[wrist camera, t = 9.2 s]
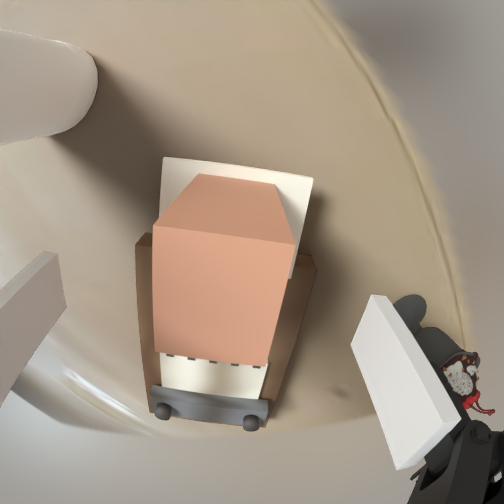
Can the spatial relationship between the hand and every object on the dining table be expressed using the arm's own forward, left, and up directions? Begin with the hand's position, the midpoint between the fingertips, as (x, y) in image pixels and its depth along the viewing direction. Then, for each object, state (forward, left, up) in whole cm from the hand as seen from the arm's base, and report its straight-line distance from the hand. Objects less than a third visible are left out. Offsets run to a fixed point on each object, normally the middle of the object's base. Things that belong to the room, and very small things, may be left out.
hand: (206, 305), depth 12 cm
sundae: (+19, -8, -13) cm, 25 cm away
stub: (0, 0, -10) cm, 10 cm away
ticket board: (0, -14, -13) cm, 19 cm away
